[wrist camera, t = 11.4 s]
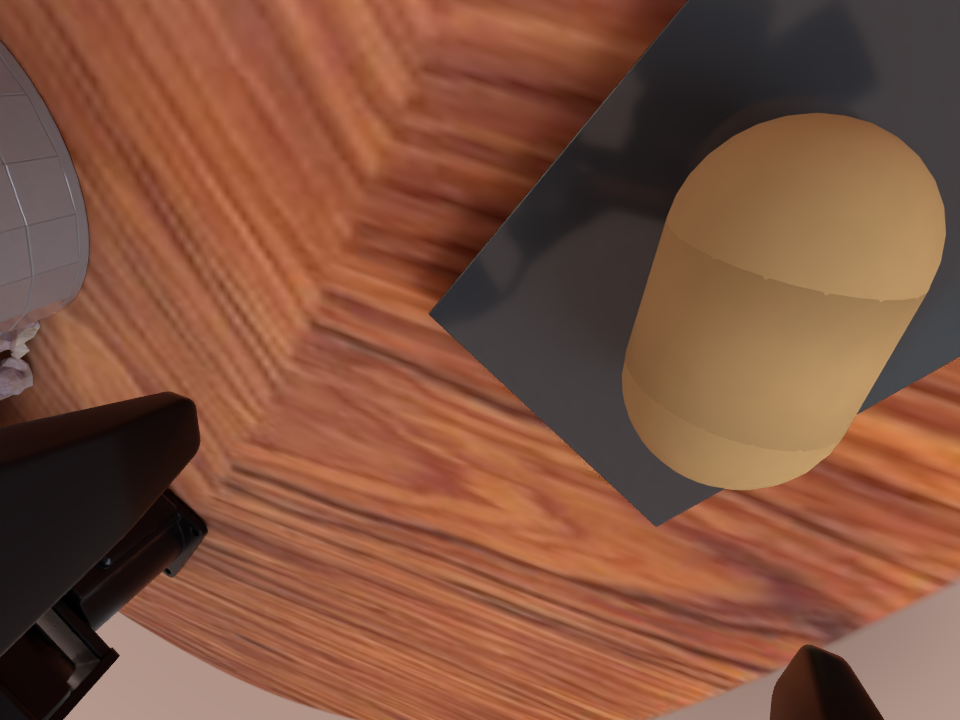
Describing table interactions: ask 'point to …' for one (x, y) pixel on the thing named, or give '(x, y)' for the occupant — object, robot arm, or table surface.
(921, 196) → the potato
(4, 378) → the mineral specimen
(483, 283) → the slate board
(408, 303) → the table surface
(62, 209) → the pan
